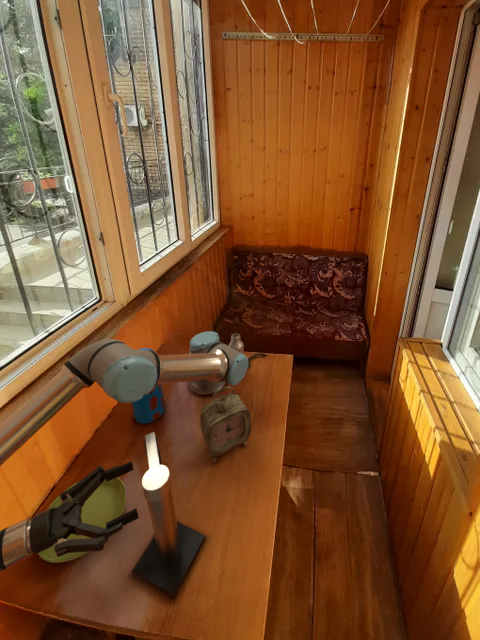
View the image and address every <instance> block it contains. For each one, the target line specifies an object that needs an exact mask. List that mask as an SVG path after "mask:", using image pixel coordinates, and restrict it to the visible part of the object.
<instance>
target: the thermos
mask: <svg viewBox="0 0 480 640" xmlns="http://www.w3.org/2000/svg"><path fill="white" fill-rule="evenodd" d="M137 350H153V349H151V348H147V347H144V348H138V349H137ZM163 392H164V391H163V384H162V385H157V386H156V387H155V388H154V389H153V390H152V391H150V392H149V393H148V394H147V395H146V394H145V395H144V396H143V398H142V399H140V400H138V401H135V402H131V403H130V405H131V409H132V413H133V416H134V419H135V421H136V422H137V423H139V424H150V423H152V422H154V421H157V420H158V419H159V418H160V417H161V416H162V415H163V414H164V412H165V399H164V393H163Z"/></svg>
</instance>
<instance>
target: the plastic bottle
mask: <svg viewBox="0 0 480 640" xmlns="http://www.w3.org/2000/svg"><path fill="white" fill-rule="evenodd" d="M241 338H242V337H241V334H240V333H237V332H236V333H232V334H231V338H230V342H229V343H228V346H229V347H231V348H233V349H235V350H237V351H238V352H240V353H243V354H244V351H245V345H244V342H243V341H242V339H241Z"/></svg>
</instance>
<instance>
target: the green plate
mask: <svg viewBox="0 0 480 640" xmlns="http://www.w3.org/2000/svg"><path fill="white" fill-rule="evenodd" d="M78 482H79V481H77V482H75V483H73V485H71V486H69V487H67V488H66V489H65V490H64V491H66V490H68V489H70V488H72V487H73V486H74V485H75V484H77V483H78ZM73 499H74V498H73ZM73 499H71V501H72V500H73ZM126 502H127V489H126V486H125V483H124V482H123V481H122V479H121V478H120V477H117V478H115V479H112V480H110V481H108V482H107V480H106V479H105V480H104V481H103V483H102V484H101V485H100V486H99V487H98V488H97V489H96V490H95V492H94V493H93V494H92V495H91V496H90V497H89V498H88V499H87V500H86V502H85V503H84V505H83V507H82V514H81V519H82V523H86V524H90V525H94V526H98V527H103V528H105V529H106V523H107V522H109V521H111V520H113V519H115V518H117V517H119V516H121V515H123V512H124V509H125V507H126ZM77 503H78V502H77ZM61 504H62V500H61V497H60V494H59V495H58V496H57V497H56V499H54V500H53V501H52V502H51V504H50V505H49V506H48V507H47V509H46V510H48V509H50V508H57V507H59V506H60V505H61ZM88 538H90V537H86V536H82V535H79V536H78V535H74V534H70V535H69V536H68V538H67V540H72V539H88ZM57 543H58V542H57ZM57 543H55V544H54V545H53V546H52V547H50V548H48V549H46V550H44V551H42V552H40V553H38V554H37V555H38V556H39V558H40V559H42V560H44V561H45V562H48V563H52V564H53V563H55V564H58V563H66V562H71V561H73V560H76V559H78V558H80V557H83V556H84V555H86V554H88V553H89V552H74V553H67V554H64V555H62V556H60V557H57V555H56V552H55V550H54V548H55V546H56V545H57Z"/></svg>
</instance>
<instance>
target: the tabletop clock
mask: <svg viewBox="0 0 480 640" xmlns="http://www.w3.org/2000/svg"><path fill="white" fill-rule="evenodd" d="M229 389H230V390H231V391H230V393H228V394H227V395H225V394H221V396H220V397H219V398H215V396H216V395H217V394H219V393H220V392H223V391H225V390H229ZM240 397H241V396H240V395H239V394H236V393H234V387H233V386H224V387H223V388H222V389H219V390H218V391H216V392H215V393H214V394H212V396H211V399H212V401H211V402H209V403H207V404H205V405H204V406H202V409H201V412H200V416H199V417H200V418H199V419H200V420H199V421H200V422H199V425H200V427H199V428H200V431H201V435H202V437H203V439H204V442H205V444H206V447H207V449H208V451H209V454H210V455H211V462H213V463H215V462H217V460H218V458H217V457H219V456H220V455H223V454H225V453H228V452H230V451H231V450H234V449H235V448H237V447H238V446H240V445H242V446H243V447H244V446H245V447H246V446H247V444H248V441H247V440H248V439H249V438H250V435H251V431H252V419H251V414H250V412H249V410H248V408H247V406H246V405H245V403H244V402H243V400H242V399H241V398H240Z"/></svg>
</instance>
